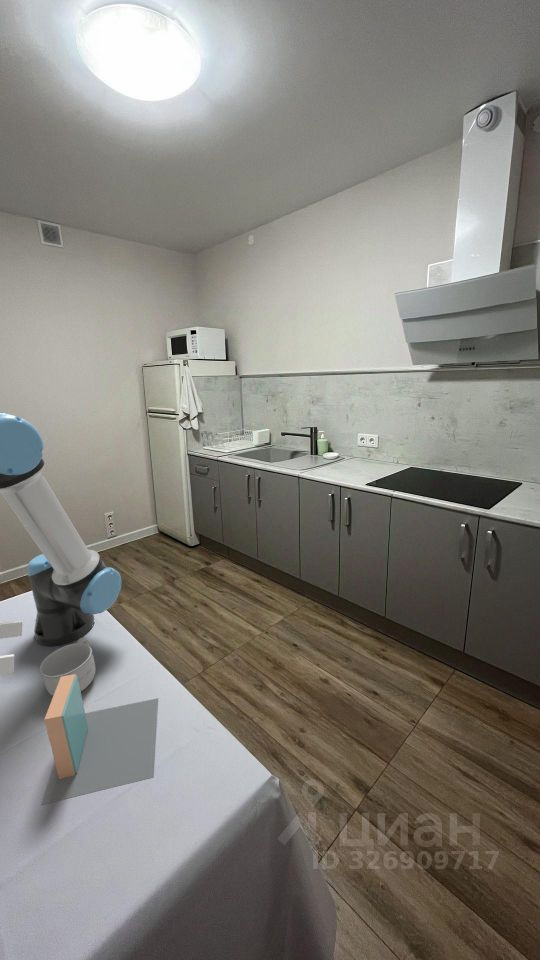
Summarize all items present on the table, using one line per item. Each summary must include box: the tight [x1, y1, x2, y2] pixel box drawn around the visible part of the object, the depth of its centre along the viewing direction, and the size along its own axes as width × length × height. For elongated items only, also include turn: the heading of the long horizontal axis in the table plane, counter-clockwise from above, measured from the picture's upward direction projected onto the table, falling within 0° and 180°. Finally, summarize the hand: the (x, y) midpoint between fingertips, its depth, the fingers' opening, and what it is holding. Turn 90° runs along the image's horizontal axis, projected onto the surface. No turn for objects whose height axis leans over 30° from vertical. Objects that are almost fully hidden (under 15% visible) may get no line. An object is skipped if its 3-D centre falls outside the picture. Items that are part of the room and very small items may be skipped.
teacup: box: [39, 637, 96, 697], centre depth 92 cm, size 14×11×8 cm
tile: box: [44, 674, 88, 779], centre depth 73 cm, size 10×3×13 cm, turn 13°
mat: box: [41, 697, 159, 806], centre depth 76 cm, size 18×18×1 cm
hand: (18, 644), depth 70 cm, fingers open, 13 cm apart
